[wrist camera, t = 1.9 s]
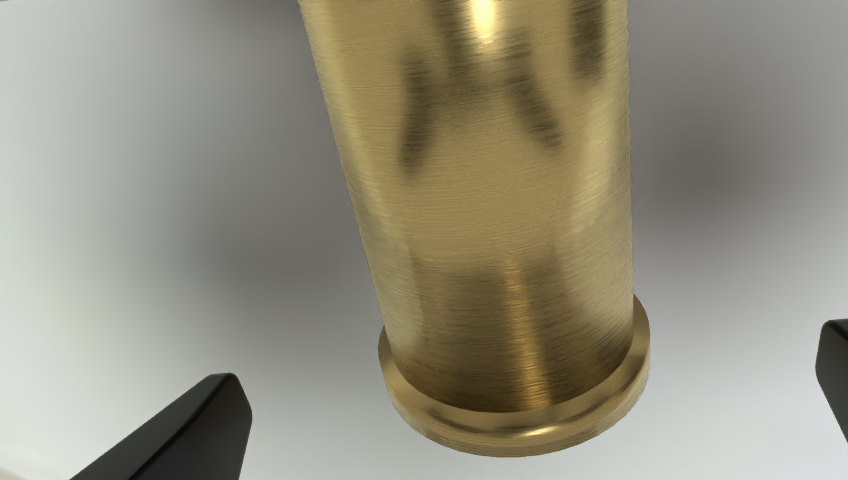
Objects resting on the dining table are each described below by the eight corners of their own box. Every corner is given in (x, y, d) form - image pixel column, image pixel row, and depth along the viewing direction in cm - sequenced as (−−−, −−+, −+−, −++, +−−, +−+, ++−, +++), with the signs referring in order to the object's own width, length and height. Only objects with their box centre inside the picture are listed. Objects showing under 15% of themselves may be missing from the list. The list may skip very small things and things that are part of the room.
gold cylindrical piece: (238, -384, 10) (-34, -733, 5) (592, -498, 9) (749, -1101, 4) (402, 294, 16) (364, 466, 11) (618, 271, 15) (687, 447, 10)
